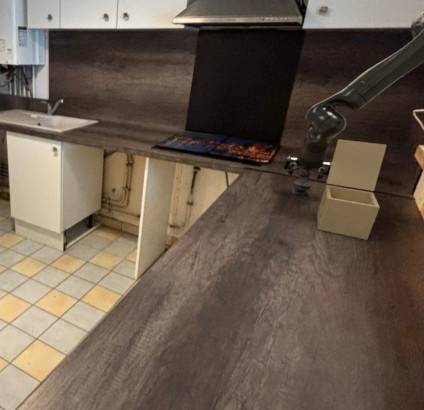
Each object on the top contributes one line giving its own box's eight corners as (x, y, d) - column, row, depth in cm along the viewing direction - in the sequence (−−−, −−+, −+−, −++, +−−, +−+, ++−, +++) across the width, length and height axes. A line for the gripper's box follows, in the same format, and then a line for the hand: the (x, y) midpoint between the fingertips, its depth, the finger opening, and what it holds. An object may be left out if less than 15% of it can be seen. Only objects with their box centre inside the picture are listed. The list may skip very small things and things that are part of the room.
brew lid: (386, 144, 103) (382, 147, 107) (338, 139, 108) (336, 141, 112) (374, 190, 104) (370, 191, 108) (326, 183, 110) (324, 184, 114)
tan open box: (367, 240, 99) (379, 207, 95) (317, 229, 104) (327, 198, 100) (362, 222, 109) (373, 192, 105) (317, 213, 114) (326, 184, 110)
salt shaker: (292, 194, 130) (300, 162, 125) (289, 188, 135) (298, 158, 130) (310, 196, 128) (320, 164, 123) (307, 191, 133) (316, 160, 128)
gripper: (341, 144, 114) (329, 170, 127) (291, 138, 120) (284, 163, 134) (337, 165, 111) (325, 188, 125) (286, 157, 118) (280, 180, 132)
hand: (304, 175), depth 129 cm, fingers open, 8 cm apart
